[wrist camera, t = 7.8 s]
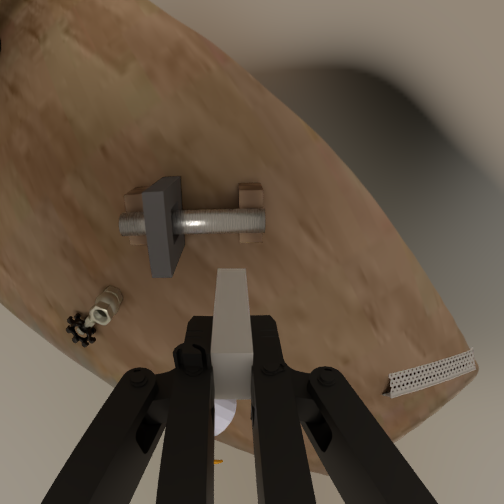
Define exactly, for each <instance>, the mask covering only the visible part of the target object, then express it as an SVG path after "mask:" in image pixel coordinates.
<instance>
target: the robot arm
mask: <svg viewBox="0 0 504 504" xmlns="http://www.w3.org/2000/svg"><path fill="white" fill-rule="evenodd" d="M0 50H1V41H0ZM173 357H174V362H175V367H176V368H175V369H173V370H171V371H169V372H166V373H161V374H156V375H155V374H154V373H153V372H152V371H151V370H149V369H147V368H140V367H139V368H133V369H131V370H129V371H127V372H126V373H125V374H124V375H123V377H122V378H121V380H120V381H119V382H118V384H117V385H116V387H115V388H114V390H113V391H112V393H111V394H110V396H109V397H108V399H107V400H106V402H105V403H104V405H103V406H102V408H101V409H100V411H99V412H98V414H97V415H96V417H95V418H94V420H93V421H92V423H91V424H90V426H89V427H88V429H87V431H86V432H85V433H84V435H83V437H82V438H81V440H80V442H79V443H78V444H77V446H76V448H75V449H74V451H73V452H72V454H71V455H70V457H69V459H68V460H67V462H66V463H65V465H64V467H63V468H62V470H61V471H60V473H59V474H58V476H57V478H56V479H55V481H54V483H53V484H52V486H51V488H50V489H49V491H48V492H47V494H46V496H45V497H44V499H43V501H42V503H41V504H129V503H130V501H131V499H132V497H133V495H134V492H135V490H136V488H137V486H138V484H139V482H140V480H141V477H142V475H143V473H144V471H145V469H146V467H147V465H148V463H149V461H150V458H151V456H152V454H153V452H154V450H155V448H156V446H157V444H158V442H159V439H160V437H161V435H162V433H163V431H164V429H165V427H166V429H165V436H164V443H163V450H162V457H161V464H160V472H159V480H158V489H157V498H156V504H214V431H215V405H214V398H215V399H251V420H252V429H253V443H254V456H255V468H256V482H257V494H258V504H316V500H315V495H314V490H313V485H312V480H311V475H310V470H309V465H308V460H307V455H306V450H305V445H304V440H303V435H302V430H301V425H302V427H303V429H304V430H305V432H306V434H307V436H308V438H309V440H310V442H311V443H312V445H313V447H314V449H315V451H316V453H317V454H318V456H319V458H320V460H321V462H322V463H323V465H324V467H325V469H326V471H327V472H328V474H329V476H330V478H331V479H332V481H333V483H334V485H335V486H336V488H337V490H338V492H339V493H340V495H341V497H342V499H343V500H344V502H345V504H438V503H437V502H436V500H435V499H434V497H433V496H432V495H431V493H430V492H429V491H428V489H427V488H426V487H425V485H424V484H423V483H422V481H421V480H420V479H419V477H418V476H417V475H416V473H415V472H414V470H413V469H412V468H411V466H410V465H409V464H408V462H407V461H406V460H405V458H404V457H403V456H402V454H401V453H400V452H399V450H398V449H397V448H396V446H395V445H394V443H393V442H392V441H391V439H390V438H389V437H388V435H387V434H386V433H385V431H384V430H383V429H382V427H381V426H380V425H379V423H378V422H377V420H376V419H375V418H374V416H373V415H372V414H371V412H370V411H369V410H368V408H367V407H366V406H365V404H364V403H363V402H362V400H361V399H360V398H359V396H358V395H357V393H356V392H355V391H354V389H353V388H352V387H351V385H350V384H349V383H348V381H347V380H346V379H345V377H344V376H343V375H342V373H340V372H339V371H338V370H337V369H334V368H332V367H326V366H324V367H318V368H316V369H314V370H313V371H312V372H311V373H304V372H299V371H295V370H293V369H291V368H290V367H289V366H287V364H286V363H285V362H284V359H283V355H282V350H281V345H280V340H279V335H278V331H277V325H276V322H275V320H274V319H273V318H272V317H271V316H270V315H257V316H250V311H249V300H248V289H247V277H246V269H218V272H217V283H216V293H215V304H214V316H193V317H192V319H191V320H190V321H189V322H188V325H187V332H186V336H185V341H184V343H182V344H180V345H178V346H177V347H176V348H175V349H174V351H173ZM300 423H301V425H300Z"/></svg>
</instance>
